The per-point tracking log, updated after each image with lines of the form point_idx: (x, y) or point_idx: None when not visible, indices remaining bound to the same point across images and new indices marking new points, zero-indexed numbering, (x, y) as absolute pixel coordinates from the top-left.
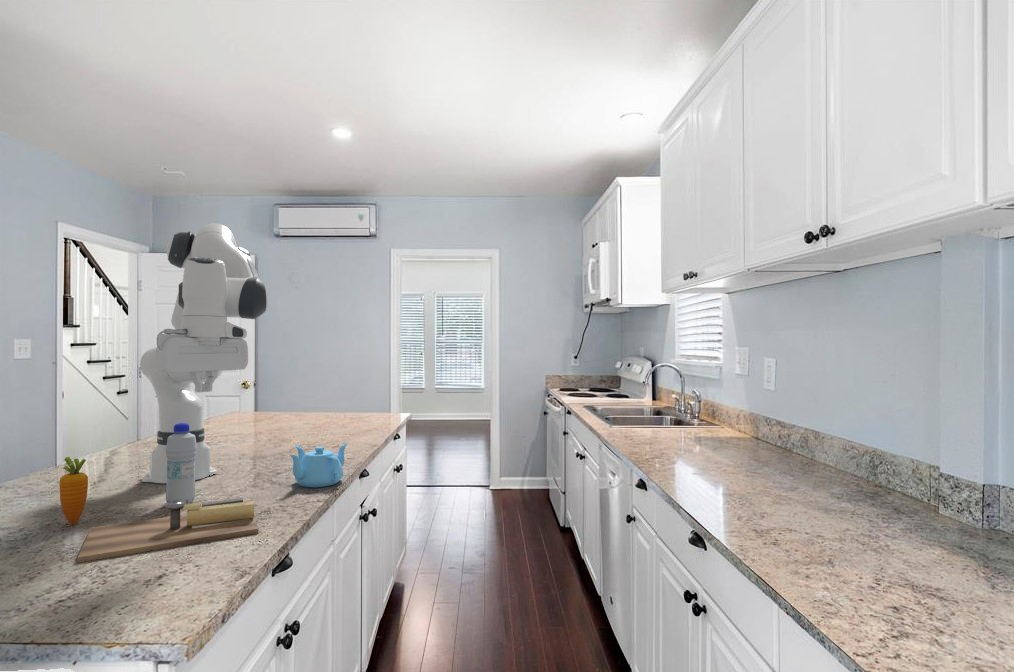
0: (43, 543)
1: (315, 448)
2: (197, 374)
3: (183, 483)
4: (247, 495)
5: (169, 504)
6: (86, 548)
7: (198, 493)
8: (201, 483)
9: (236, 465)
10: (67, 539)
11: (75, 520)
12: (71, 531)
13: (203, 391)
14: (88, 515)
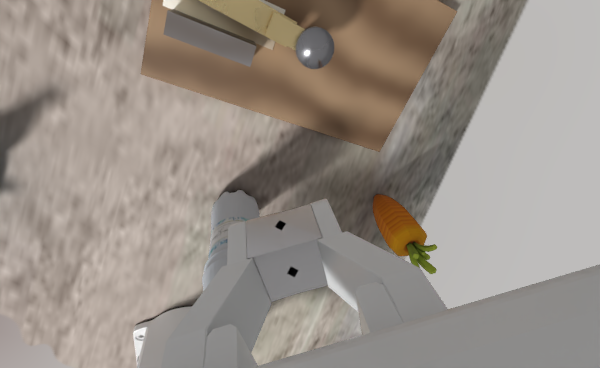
0: (427, 145)
1: None
2: (420, 293)
3: (238, 210)
4: (118, 177)
5: (328, 45)
6: (430, 48)
7: (193, 242)
8: (172, 291)
9: (89, 358)
10: (406, 140)
11: (379, 195)
12: (387, 173)
13: (297, 207)
14: (345, 228)
